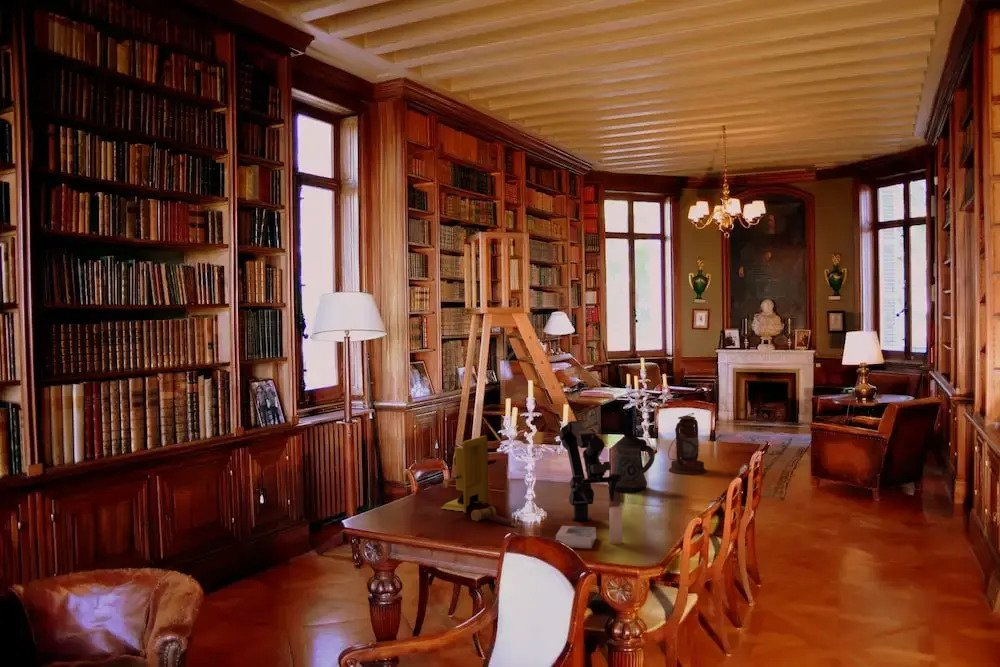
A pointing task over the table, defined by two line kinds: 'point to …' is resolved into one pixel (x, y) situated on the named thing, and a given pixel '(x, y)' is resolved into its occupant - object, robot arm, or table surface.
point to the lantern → (687, 448)
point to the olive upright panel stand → (470, 474)
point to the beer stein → (632, 464)
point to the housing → (577, 536)
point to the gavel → (490, 516)
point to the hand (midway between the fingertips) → (600, 502)
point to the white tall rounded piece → (615, 525)
